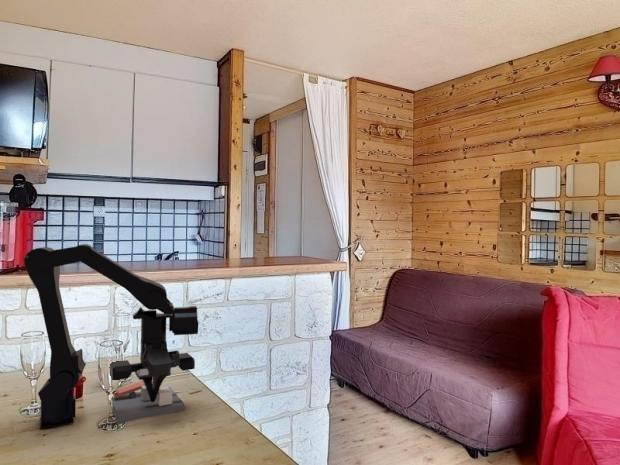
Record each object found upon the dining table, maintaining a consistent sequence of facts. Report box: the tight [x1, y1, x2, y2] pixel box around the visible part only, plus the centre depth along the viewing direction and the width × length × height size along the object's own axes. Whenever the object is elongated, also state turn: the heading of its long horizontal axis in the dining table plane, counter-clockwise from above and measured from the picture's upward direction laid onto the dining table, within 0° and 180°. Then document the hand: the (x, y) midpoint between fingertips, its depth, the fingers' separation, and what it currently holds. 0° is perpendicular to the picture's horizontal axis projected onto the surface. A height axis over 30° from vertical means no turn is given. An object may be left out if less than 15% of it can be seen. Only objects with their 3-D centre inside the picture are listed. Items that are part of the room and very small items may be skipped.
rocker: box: [113, 380, 145, 398], centre depth 116 cm, size 9×3×1 cm, turn 121°
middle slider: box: [140, 385, 150, 401], centre depth 114 cm, size 3×2×3 cm
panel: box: [112, 386, 186, 423], centre depth 114 cm, size 15×14×3 cm
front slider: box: [157, 387, 173, 406], centre depth 112 cm, size 3×2×3 cm
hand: (152, 401), depth 110 cm, fingers closed
